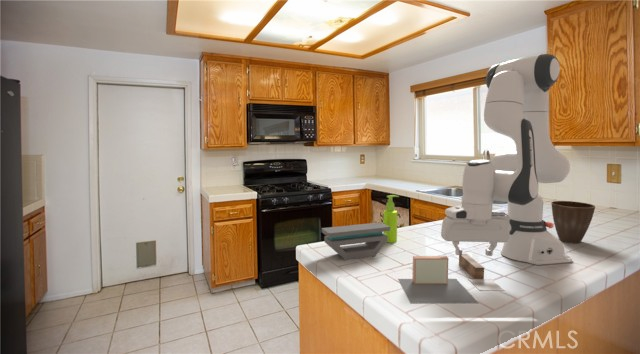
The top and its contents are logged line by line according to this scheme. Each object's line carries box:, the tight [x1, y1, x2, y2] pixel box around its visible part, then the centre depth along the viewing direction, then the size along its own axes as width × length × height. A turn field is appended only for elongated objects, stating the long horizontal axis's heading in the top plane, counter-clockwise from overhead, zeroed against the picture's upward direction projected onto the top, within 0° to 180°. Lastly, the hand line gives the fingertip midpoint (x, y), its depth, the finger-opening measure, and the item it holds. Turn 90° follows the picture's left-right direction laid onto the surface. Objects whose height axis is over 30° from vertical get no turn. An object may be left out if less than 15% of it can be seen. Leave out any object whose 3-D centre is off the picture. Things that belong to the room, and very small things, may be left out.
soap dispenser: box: [382, 194, 400, 244], centre depth 147 cm, size 6×7×20 cm
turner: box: [458, 253, 505, 292], centre depth 107 cm, size 21×7×4 cm, turn 179°
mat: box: [397, 278, 479, 305], centre depth 97 cm, size 18×16×1 cm
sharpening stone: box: [321, 221, 390, 261], centre depth 129 cm, size 25×8×11 cm, turn 109°
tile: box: [411, 255, 449, 284], centre depth 102 cm, size 10×2×8 cm, turn 89°
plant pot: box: [551, 200, 596, 244], centre depth 144 cm, size 15×15×16 cm
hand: (473, 255), depth 107 cm, fingers open, 8 cm apart
